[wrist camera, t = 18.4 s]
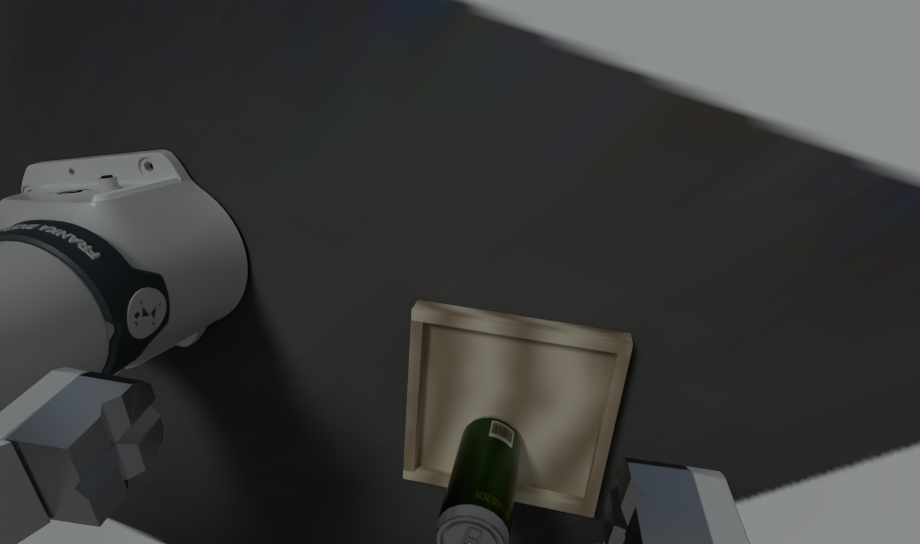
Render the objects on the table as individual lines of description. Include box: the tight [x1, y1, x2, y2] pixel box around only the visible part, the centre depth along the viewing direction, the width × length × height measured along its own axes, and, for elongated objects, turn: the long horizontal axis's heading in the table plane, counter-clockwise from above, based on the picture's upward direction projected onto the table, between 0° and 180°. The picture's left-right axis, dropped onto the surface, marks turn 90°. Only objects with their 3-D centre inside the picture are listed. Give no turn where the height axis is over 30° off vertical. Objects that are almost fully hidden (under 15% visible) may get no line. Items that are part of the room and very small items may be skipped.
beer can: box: [437, 415, 521, 544], centre depth 43 cm, size 5×5×12 cm
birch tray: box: [403, 300, 633, 518], centre depth 47 cm, size 18×18×2 cm
